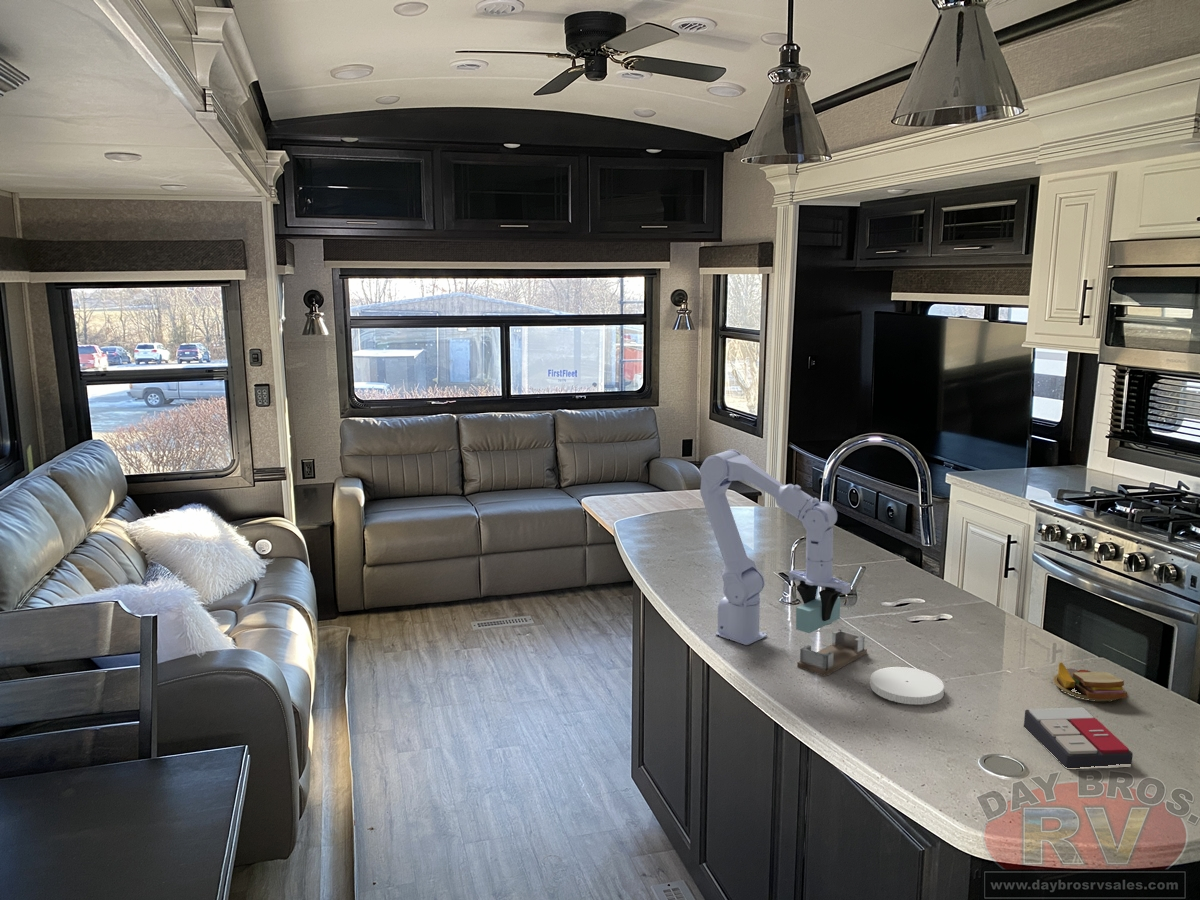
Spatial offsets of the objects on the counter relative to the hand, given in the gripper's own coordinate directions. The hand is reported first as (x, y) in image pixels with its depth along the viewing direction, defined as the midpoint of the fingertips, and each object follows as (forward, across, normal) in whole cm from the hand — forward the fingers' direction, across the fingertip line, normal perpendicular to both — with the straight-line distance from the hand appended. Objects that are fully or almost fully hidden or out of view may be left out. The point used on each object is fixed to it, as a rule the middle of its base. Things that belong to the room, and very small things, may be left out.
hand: (818, 617), depth 195 cm
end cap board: (+8, +4, -1) cm, 9 cm away
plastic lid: (+9, +23, -4) cm, 25 cm away
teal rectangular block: (+2, 0, 0) cm, 2 cm away
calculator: (+10, +54, -3) cm, 55 cm away
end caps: (+8, +4, -1) cm, 9 cm away
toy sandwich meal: (+9, +49, +22) cm, 54 cm away
